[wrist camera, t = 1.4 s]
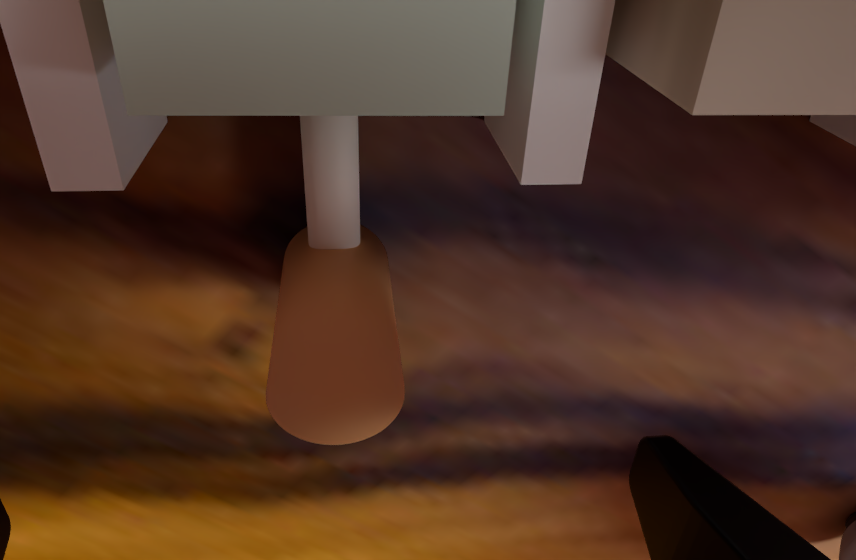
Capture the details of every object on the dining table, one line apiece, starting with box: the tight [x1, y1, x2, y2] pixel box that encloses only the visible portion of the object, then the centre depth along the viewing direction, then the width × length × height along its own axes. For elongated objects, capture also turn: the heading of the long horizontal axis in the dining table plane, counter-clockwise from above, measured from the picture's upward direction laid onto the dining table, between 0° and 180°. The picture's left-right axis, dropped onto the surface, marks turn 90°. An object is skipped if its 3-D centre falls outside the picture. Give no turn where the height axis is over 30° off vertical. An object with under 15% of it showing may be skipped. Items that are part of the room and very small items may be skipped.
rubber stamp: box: [103, 0, 516, 445], centre depth 10 cm, size 10×4×4 cm, turn 178°
